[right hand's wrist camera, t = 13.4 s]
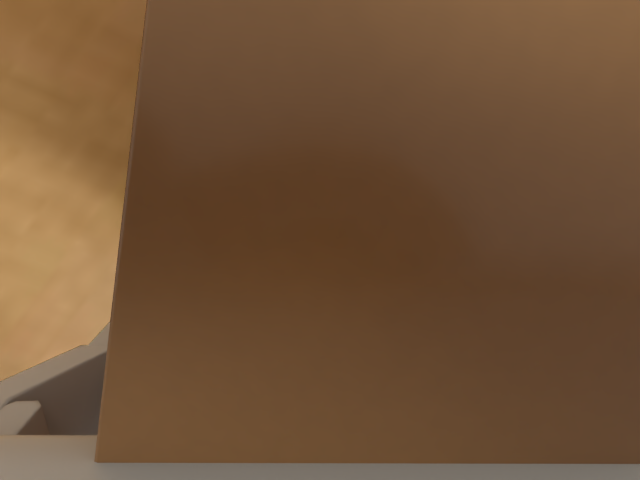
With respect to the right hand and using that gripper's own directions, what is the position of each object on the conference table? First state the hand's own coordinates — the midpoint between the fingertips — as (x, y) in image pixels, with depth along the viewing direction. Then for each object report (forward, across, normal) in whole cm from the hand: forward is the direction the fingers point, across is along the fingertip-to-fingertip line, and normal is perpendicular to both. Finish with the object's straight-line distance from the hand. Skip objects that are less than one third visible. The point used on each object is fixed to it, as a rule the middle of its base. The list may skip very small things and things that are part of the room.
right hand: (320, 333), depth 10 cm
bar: (+3, -2, -8) cm, 9 cm away
